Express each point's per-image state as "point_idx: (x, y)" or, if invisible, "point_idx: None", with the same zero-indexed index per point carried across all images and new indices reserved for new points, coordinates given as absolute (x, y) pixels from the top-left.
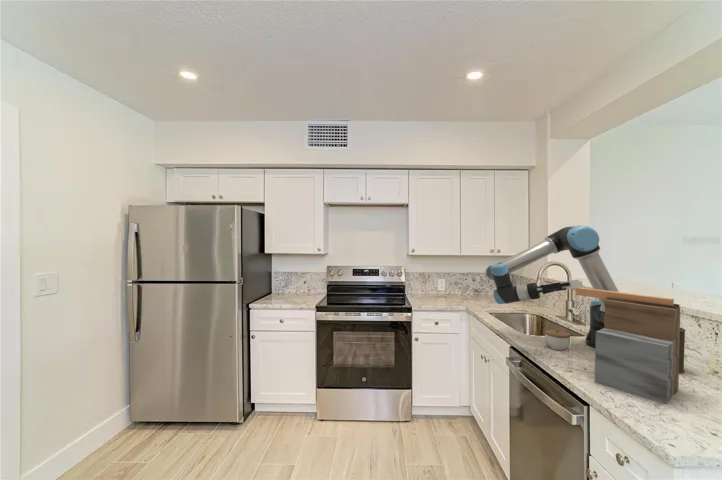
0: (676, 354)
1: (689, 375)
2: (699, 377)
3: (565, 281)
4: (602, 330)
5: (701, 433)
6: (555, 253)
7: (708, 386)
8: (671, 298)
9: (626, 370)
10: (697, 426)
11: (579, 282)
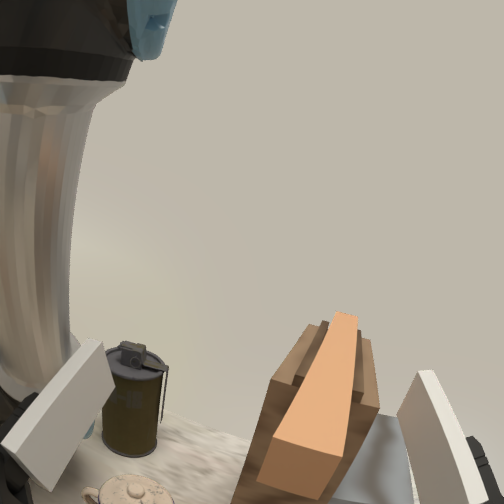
0: None
1: (159, 428)
2: (163, 421)
3: (473, 457)
4: (378, 499)
5: (413, 475)
6: None
7: (208, 431)
8: (337, 312)
9: None
10: None
11: (95, 363)
